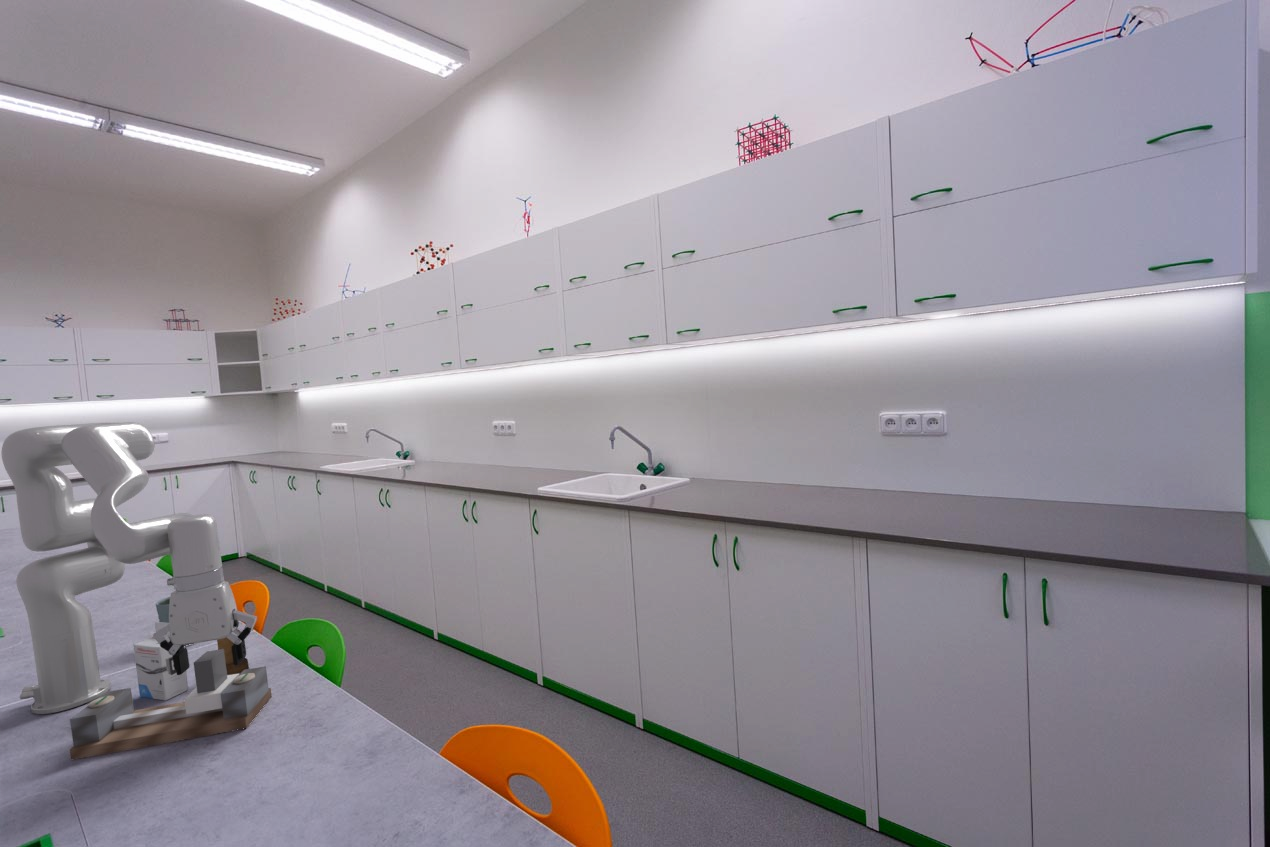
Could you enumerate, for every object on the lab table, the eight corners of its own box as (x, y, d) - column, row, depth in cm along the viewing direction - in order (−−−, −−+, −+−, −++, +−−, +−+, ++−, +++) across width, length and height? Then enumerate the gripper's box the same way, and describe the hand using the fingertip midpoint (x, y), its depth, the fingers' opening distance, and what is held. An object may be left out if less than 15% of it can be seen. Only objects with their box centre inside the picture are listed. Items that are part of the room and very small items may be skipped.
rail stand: (71, 760, 104) (65, 718, 104) (115, 723, 116) (110, 686, 115) (246, 728, 110) (241, 689, 109) (271, 696, 122) (267, 661, 121)
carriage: (186, 714, 109) (180, 667, 109) (207, 693, 117) (202, 649, 117) (222, 708, 111) (216, 661, 110) (241, 687, 118) (235, 644, 118)
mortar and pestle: (230, 681, 130) (221, 602, 129) (206, 680, 132) (196, 602, 131) (255, 667, 137) (246, 591, 136) (232, 666, 138) (223, 591, 137)
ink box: (138, 697, 126) (129, 630, 125) (163, 685, 131) (154, 621, 130) (165, 701, 123) (156, 633, 123) (189, 689, 128) (181, 623, 127)
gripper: (135, 593, 107) (148, 684, 108) (241, 578, 111) (253, 667, 112) (159, 581, 114) (171, 667, 115) (257, 567, 118) (268, 650, 119)
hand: (211, 666), depth 113 cm, fingers open, 9 cm apart
